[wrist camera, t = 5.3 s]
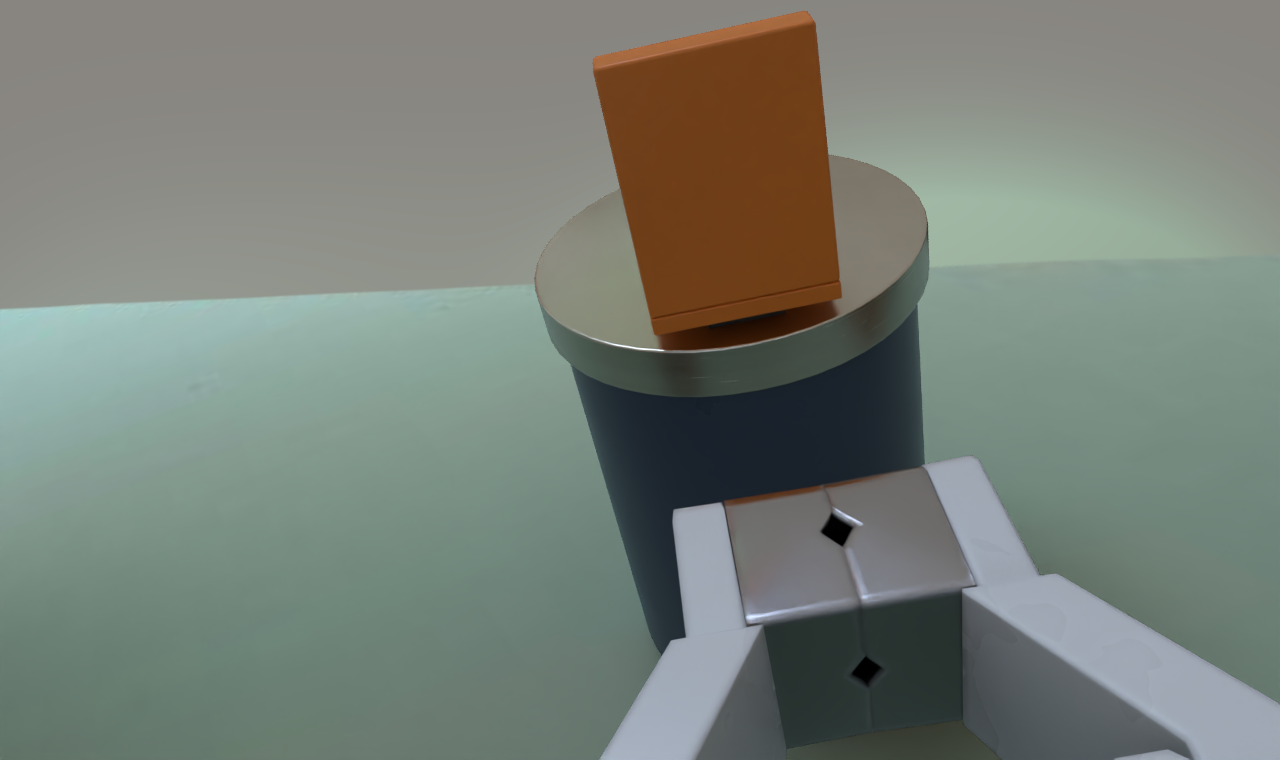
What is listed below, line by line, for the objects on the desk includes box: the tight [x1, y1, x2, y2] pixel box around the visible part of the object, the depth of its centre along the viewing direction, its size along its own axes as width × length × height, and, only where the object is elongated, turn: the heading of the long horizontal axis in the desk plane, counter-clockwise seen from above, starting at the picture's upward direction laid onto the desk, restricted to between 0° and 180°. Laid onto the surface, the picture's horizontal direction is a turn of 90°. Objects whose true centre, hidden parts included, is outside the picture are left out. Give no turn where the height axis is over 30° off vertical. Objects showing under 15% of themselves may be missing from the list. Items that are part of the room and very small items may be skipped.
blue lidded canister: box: [535, 155, 929, 655], centre depth 27 cm, size 9×9×12 cm
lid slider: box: [593, 11, 842, 336], centre depth 20 cm, size 4×4×6 cm
